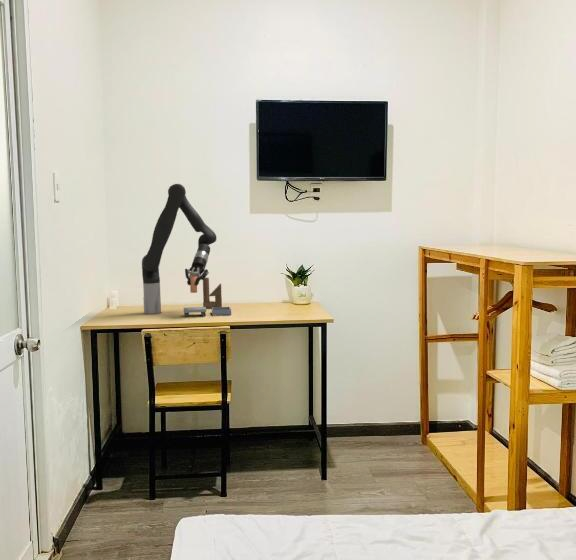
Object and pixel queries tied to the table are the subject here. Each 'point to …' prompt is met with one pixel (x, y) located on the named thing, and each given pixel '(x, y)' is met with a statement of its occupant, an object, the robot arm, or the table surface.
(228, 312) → the tray
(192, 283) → the stop pin
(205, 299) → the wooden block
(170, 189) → the robot arm
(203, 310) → the trolley
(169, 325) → the table surface
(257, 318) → the table surface
